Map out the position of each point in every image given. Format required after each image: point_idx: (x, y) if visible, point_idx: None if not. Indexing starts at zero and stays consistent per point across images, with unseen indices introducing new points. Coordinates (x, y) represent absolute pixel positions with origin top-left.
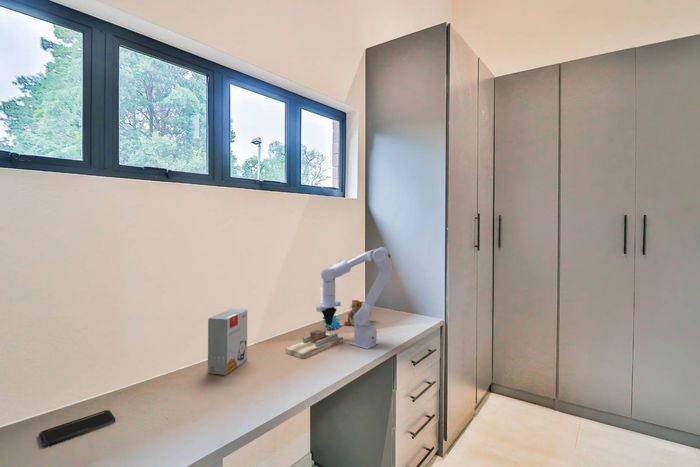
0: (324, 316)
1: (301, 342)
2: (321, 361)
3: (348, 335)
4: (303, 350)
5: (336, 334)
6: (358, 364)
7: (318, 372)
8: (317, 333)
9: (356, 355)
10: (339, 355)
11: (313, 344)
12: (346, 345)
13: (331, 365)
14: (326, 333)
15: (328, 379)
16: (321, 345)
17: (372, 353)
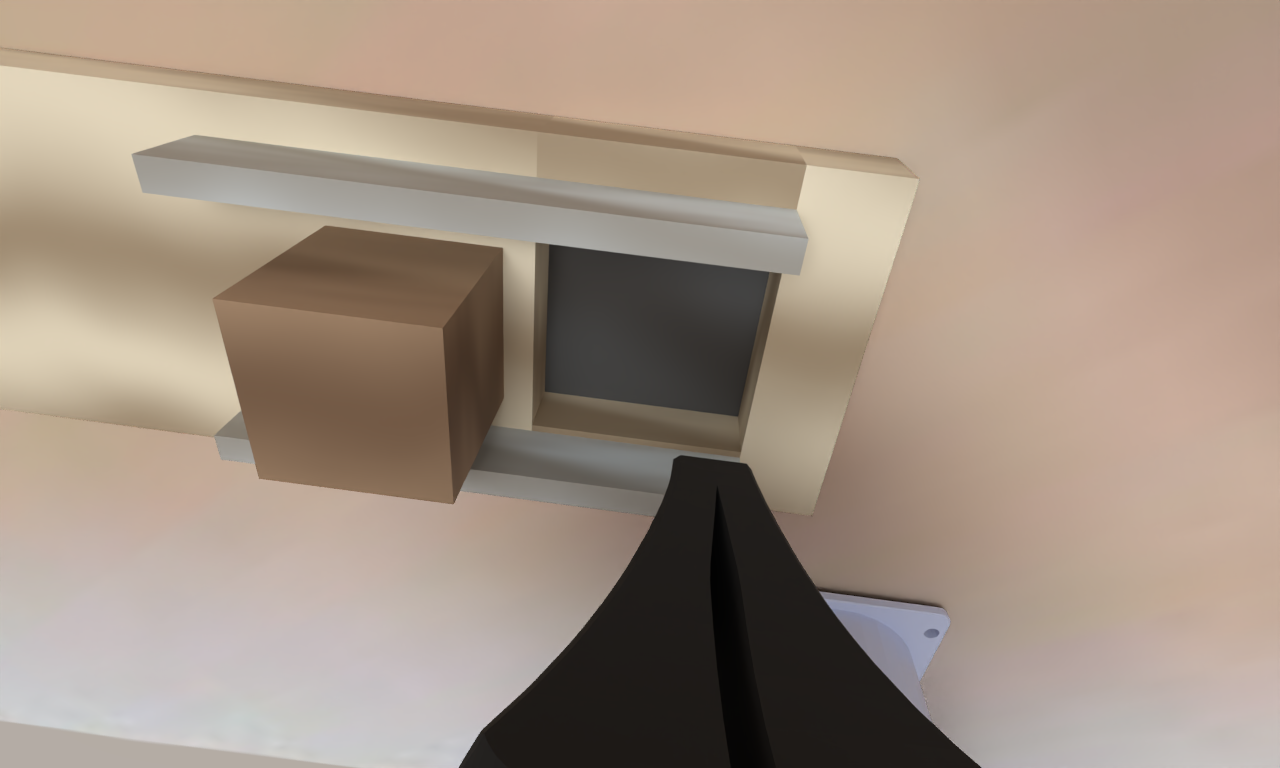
0: (613, 600)
1: (183, 97)
2: (175, 544)
3: (1105, 423)
4: (37, 348)
5: None
6: (375, 752)
7: (29, 615)
8: (268, 459)
9: (511, 699)
10: (407, 604)
11: None
12: None
13: (197, 634)
14: (878, 205)
15: (39, 698)
16: None
17: None
